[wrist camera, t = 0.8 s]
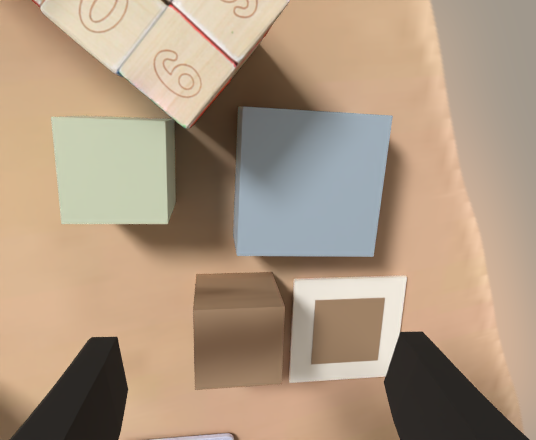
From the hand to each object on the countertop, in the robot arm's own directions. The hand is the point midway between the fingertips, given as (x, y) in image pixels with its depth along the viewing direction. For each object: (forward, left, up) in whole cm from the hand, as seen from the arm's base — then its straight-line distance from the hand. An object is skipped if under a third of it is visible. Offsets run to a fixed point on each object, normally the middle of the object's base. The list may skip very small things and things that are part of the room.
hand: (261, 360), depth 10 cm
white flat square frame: (-9, -8, -16) cm, 20 cm away
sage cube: (+3, +6, -16) cm, 17 cm away
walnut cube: (-7, 0, -16) cm, 17 cm away
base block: (+2, -4, -16) cm, 17 cm away
